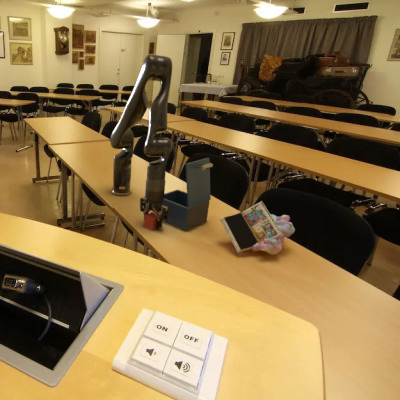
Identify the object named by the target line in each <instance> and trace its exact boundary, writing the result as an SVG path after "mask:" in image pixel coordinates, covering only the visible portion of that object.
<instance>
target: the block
mask: <svg viewBox="0 0 400 400" xmlns="http://www.w3.org/2000/svg"><path fill="white" fill-rule="evenodd" d="M159 217H160V215H159ZM143 227H145V228H147V229H148V230H151V231H154V230H157V229H158V228H156V227H157V217H156V216H155V214H154V212H153V211H151V212H149V214H146V215H144V214H143Z"/></svg>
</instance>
